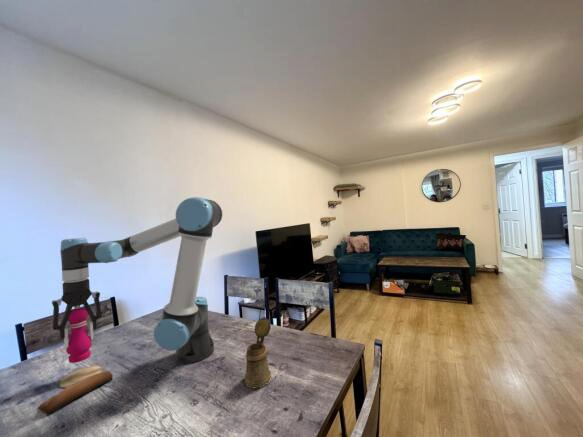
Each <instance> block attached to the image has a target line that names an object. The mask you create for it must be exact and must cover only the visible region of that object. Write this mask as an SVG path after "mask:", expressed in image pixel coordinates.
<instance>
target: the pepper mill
mask: <svg viewBox="0 0 583 437" xmlns="http://www.w3.org/2000/svg"><path fill="white" fill-rule="evenodd" d="M88 317H89V315H88V312H87V310H86V309H85V307H81V305H77V306H74V307H73V308H72V310H71V312H70V315H69V318H68V320H67V323H69V325H68V326H69V329H70V338H69V339H68V347H67V348H66V349H65V351H66V353H67V354H68V355H69V356H68V362H69V363H70V364H74V363H80V362H82V361H85V360H87V359H89V358H90V357H91V356H92V354H91V352H92V351H91V347H92V345H93V341H92V340H91V339H90V337H89V333H88V332H87V328H86V325H87V324H88V320H87V318H88Z"/></svg>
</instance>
